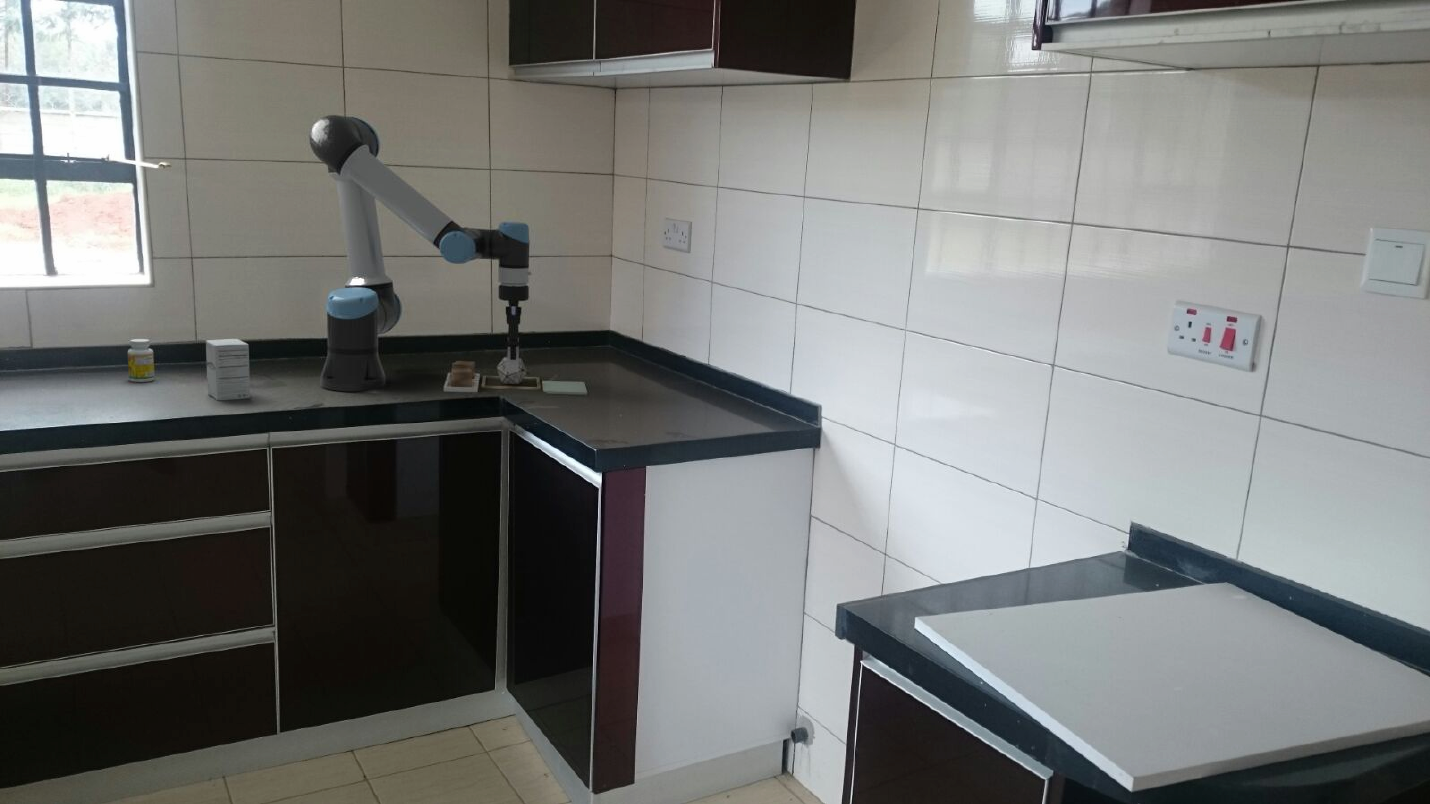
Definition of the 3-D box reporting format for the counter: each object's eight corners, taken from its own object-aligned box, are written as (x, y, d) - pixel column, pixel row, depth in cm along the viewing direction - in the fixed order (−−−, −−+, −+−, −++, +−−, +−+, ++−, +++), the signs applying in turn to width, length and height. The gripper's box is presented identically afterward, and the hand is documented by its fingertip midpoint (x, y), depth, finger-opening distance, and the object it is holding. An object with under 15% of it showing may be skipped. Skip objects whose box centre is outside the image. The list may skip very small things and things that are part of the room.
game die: (517, 398, 276) (540, 368, 277) (508, 393, 267) (533, 362, 268) (490, 378, 277) (514, 348, 278) (481, 372, 269) (505, 341, 270)
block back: (451, 381, 271) (452, 363, 270) (457, 377, 276) (457, 360, 275) (469, 382, 271) (469, 365, 270) (474, 379, 275) (474, 362, 274)
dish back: (446, 385, 269) (446, 379, 268) (448, 378, 276) (448, 372, 276) (478, 386, 270) (478, 379, 270) (479, 379, 278) (479, 373, 278)
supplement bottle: (154, 382, 251) (152, 342, 249) (128, 382, 249) (126, 342, 247) (154, 377, 256) (152, 338, 254) (129, 378, 253) (126, 338, 251)
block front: (453, 390, 261) (453, 372, 260) (451, 386, 265) (451, 368, 264) (471, 390, 262) (472, 372, 261) (469, 386, 267) (469, 368, 266)
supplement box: (206, 394, 243) (204, 339, 240) (240, 391, 247) (239, 338, 245) (216, 401, 237) (214, 345, 234) (251, 398, 242) (249, 343, 239)
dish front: (443, 393, 259) (443, 387, 259) (445, 386, 267) (445, 380, 267) (477, 394, 261) (477, 388, 260) (478, 387, 268) (478, 381, 268)
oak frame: (481, 390, 266) (481, 386, 265) (482, 379, 279) (483, 375, 278) (540, 391, 268) (540, 388, 268) (539, 381, 281) (539, 377, 281)
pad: (543, 393, 267) (543, 391, 266) (541, 383, 279) (541, 380, 279) (587, 394, 269) (587, 392, 269) (583, 384, 281) (584, 381, 281)
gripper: (529, 290, 257) (528, 376, 261) (528, 279, 281) (527, 358, 285) (497, 289, 255) (497, 376, 260) (499, 278, 279) (498, 358, 284)
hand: (513, 367), depth 272 cm, fingers open, 13 cm apart
